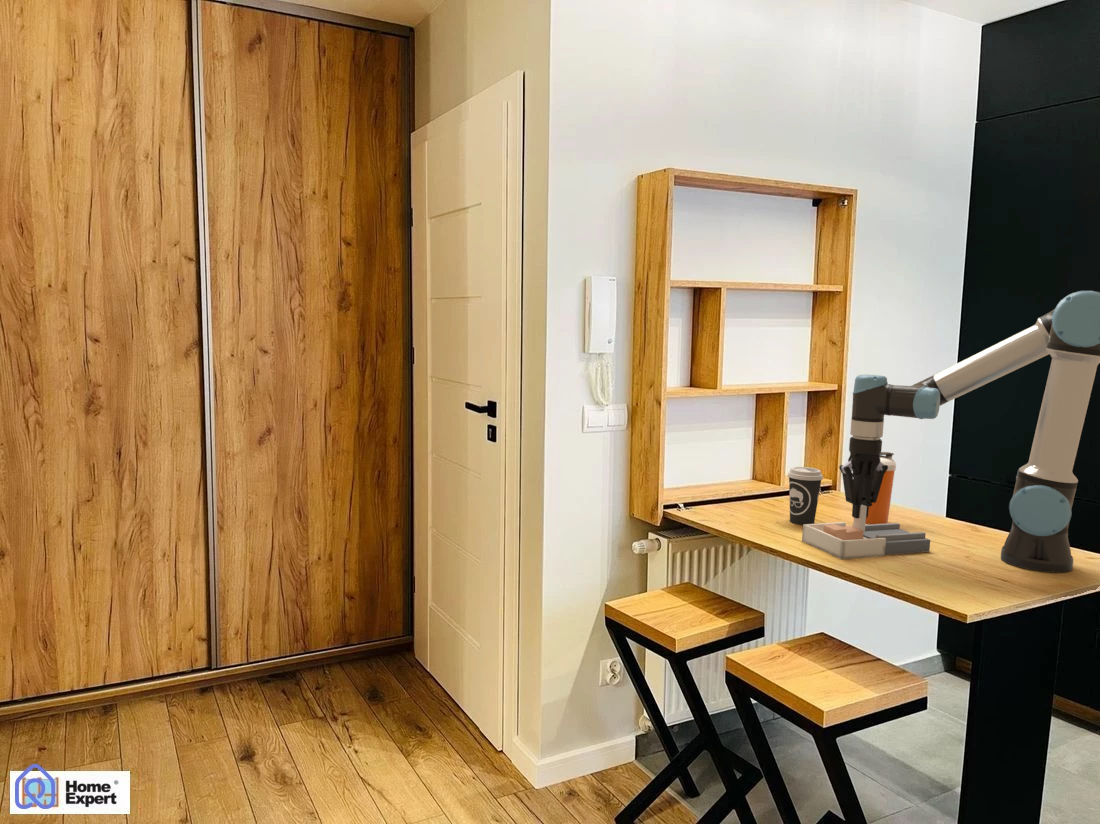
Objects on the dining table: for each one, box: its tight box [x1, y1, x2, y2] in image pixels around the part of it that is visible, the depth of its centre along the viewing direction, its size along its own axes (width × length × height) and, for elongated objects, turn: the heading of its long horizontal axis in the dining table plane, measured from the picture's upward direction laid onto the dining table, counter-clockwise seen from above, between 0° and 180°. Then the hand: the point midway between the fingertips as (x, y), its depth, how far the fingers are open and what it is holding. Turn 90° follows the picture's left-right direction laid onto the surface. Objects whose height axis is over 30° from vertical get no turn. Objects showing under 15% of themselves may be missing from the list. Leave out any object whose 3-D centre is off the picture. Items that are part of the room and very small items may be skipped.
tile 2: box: [843, 525, 863, 540], centre depth 212 cm, size 5×5×3 cm
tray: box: [801, 521, 886, 560], centre depth 212 cm, size 16×12×4 cm
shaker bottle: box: [865, 451, 897, 525], centre depth 239 cm, size 9×9×20 cm
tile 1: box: [823, 524, 846, 540], centre depth 211 cm, size 5×5×3 cm
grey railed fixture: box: [851, 522, 931, 556], centre depth 216 cm, size 14×14×4 cm
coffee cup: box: [787, 466, 824, 526], centre depth 236 cm, size 10×10×15 cm
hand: (858, 530), depth 213 cm, fingers closed
